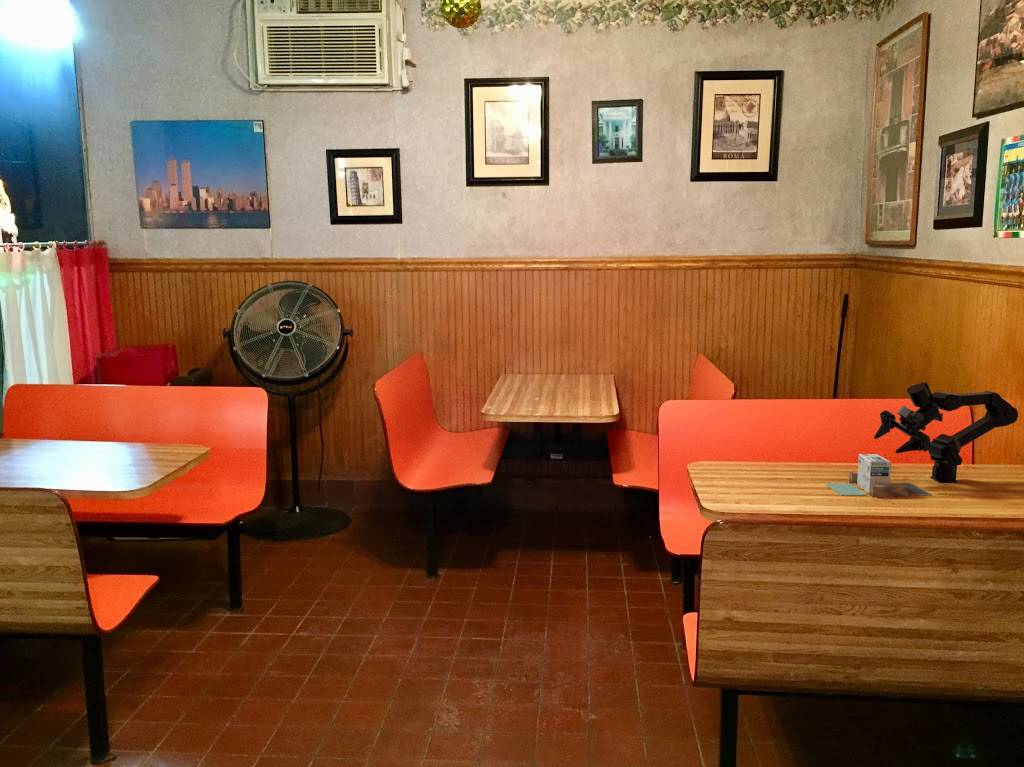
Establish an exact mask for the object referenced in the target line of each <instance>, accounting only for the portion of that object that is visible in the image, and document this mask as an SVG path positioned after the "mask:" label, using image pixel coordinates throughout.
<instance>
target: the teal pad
mask: <svg viewBox="0 0 1024 767" xmlns="http://www.w3.org/2000/svg"><path fill="white" fill-rule="evenodd" d="M825 484H826V486H827V485H828V486H829V487H828V486H827V487H828V488H830V489H831V488H832V490H833V491H834V492H835V491H836V492H835V493H837V494H838V495H840V496H842V497H844V495H847V496H848V495H856V496H867V493H865V492H863V491H861V490H860V489H859V488H857V487H855V486H854V485H853V484H851V483H849V482H847V483H846V482H845V483H843V482H842V483H839V482H838V483H830V482H829V483H825Z"/></svg>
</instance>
